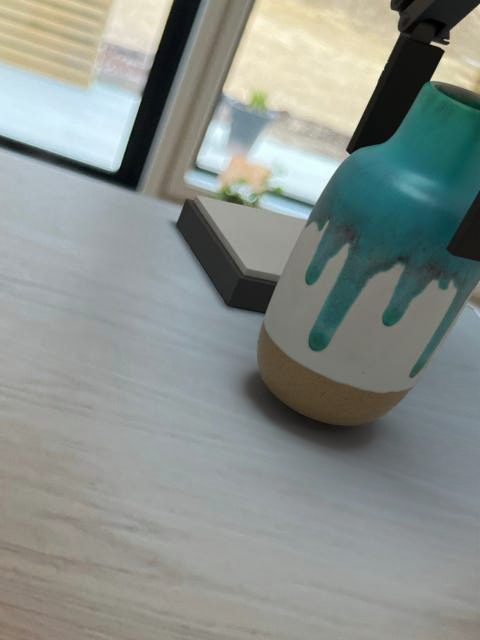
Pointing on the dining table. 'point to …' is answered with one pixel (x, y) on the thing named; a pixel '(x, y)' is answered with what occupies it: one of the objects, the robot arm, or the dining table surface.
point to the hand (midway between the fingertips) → (413, 204)
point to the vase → (377, 268)
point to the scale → (240, 247)
